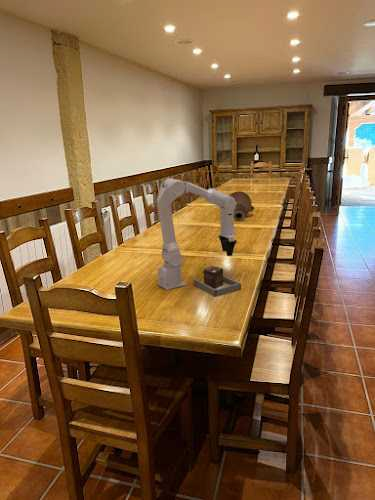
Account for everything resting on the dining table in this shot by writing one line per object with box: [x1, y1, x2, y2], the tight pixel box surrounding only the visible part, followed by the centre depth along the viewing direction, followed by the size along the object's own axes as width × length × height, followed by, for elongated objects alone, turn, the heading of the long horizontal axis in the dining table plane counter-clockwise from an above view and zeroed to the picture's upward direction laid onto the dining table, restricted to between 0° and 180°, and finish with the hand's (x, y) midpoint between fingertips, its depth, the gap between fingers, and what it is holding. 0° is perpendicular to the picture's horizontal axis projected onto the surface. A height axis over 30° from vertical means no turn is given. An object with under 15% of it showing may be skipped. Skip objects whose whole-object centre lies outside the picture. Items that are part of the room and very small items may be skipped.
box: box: [202, 265, 224, 289], centre depth 155 cm, size 6×6×7 cm
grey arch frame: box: [193, 274, 242, 297], centre depth 154 cm, size 13×15×2 cm
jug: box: [228, 191, 255, 222], centre depth 285 cm, size 20×20×30 cm
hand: (227, 253), depth 166 cm, fingers open, 7 cm apart
